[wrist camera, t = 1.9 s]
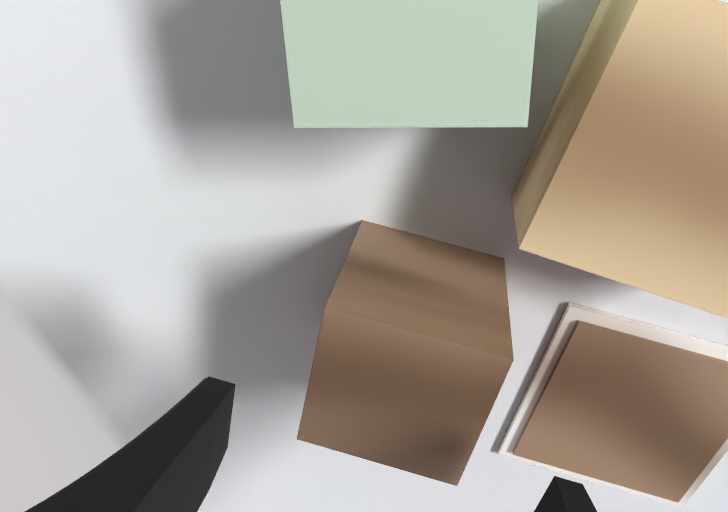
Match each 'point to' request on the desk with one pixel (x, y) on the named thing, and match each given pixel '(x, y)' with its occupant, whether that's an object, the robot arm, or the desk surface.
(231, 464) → the desk surface
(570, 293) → the desk surface
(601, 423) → the tile
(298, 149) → the desk surface
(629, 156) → the maple block
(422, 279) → the walnut block
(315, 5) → the sage block
